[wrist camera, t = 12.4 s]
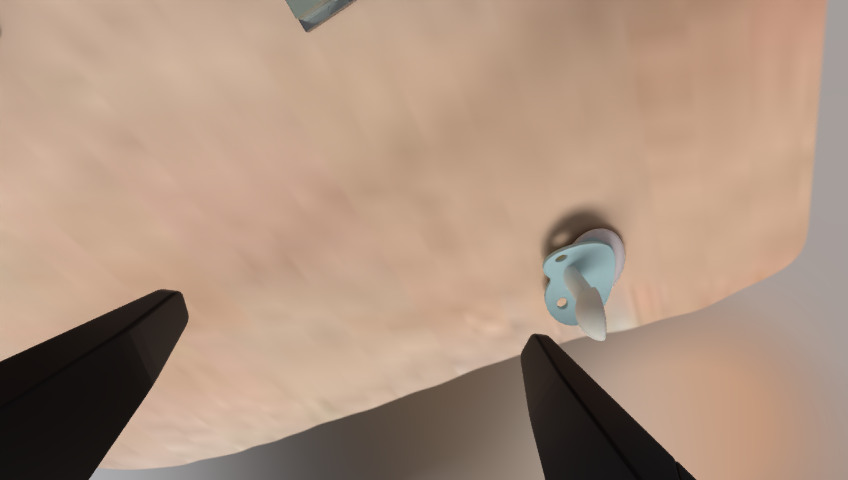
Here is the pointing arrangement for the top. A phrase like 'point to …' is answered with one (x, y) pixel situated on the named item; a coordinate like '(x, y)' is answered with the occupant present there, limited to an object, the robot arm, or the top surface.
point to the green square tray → (316, 11)
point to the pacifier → (584, 280)
